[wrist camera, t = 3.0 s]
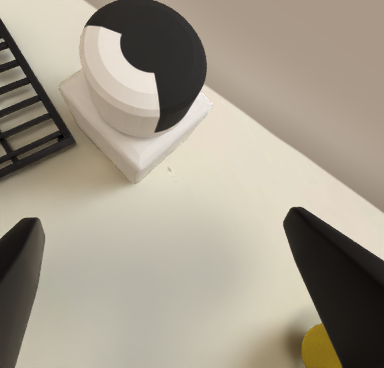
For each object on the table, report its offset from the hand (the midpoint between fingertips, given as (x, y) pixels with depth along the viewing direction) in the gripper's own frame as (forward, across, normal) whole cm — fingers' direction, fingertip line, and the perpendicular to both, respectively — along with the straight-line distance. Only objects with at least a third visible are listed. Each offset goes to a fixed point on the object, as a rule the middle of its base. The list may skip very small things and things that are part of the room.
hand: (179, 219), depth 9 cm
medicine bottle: (+15, +1, +5) cm, 16 cm away
